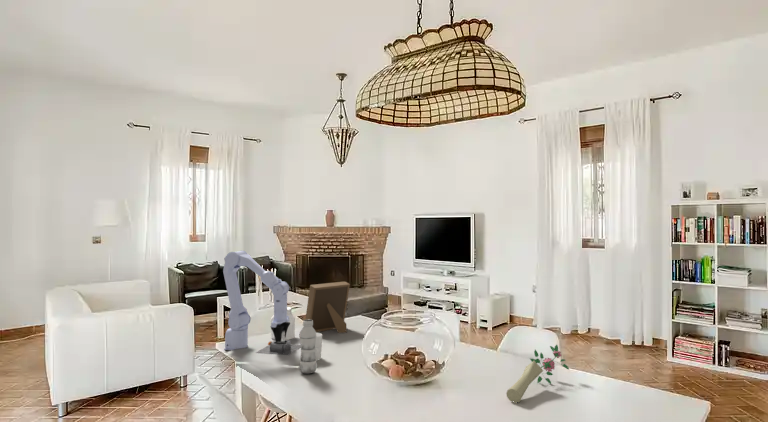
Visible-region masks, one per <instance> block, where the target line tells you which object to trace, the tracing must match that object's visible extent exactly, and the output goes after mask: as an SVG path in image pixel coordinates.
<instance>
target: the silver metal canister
mask: <svg viewBox="0 0 768 422" xmlns="http://www.w3.org/2000/svg"><path fill="white" fill-rule="evenodd" d="M284 343H285V330H283V331H282V337H281V342H276V344H284Z"/></svg>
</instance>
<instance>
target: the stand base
mask: <svg viewBox="0 0 768 422" xmlns="http://www.w3.org/2000/svg"><path fill="white" fill-rule="evenodd" d="M298 350H301V344H292V341H291V340H289V339H288V340H285V343H284V344H276V340H275V339H274V341H269V342H268V343H267V346H265V347H262V348H261V349H260V350H258V351H256V352H255V354H264V355H265V354H266V355H279V356H291V355H293V354H294V353H295V352H297V351H298Z"/></svg>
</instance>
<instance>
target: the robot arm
mask: <svg viewBox="0 0 768 422" xmlns="http://www.w3.org/2000/svg"><path fill="white" fill-rule="evenodd" d="M241 267H247V268H248V269H249V270H251V271H252V272H254V273H255V274H257V276H258V277H260V278H259V279H260V282H262V283H263V284H264V285H265V286H266V287H267V288H269V289H270V290H271V293H272V295H273V315H274V320H273V322H272V323H271V322H270V330H271V329H272V331H273V333H274V336H275V339H274V341H275V340H276V342H281V337H282V331H283V330H285V337H286V333H287V329H288V327H289V325H290V322H289V321H290V320H289V316H287V307H288V292H289V291H290V286H289V283H288V282H287V281H282V279H281V278H279V277H277V276H276V275H275V272H273V271H270V270H265V269H264V268H263V267H262V266H261V265H260V264H259V263H257V261H256V260H255V259H254V258H252V256H251V255H250V254H249V253H248V252H247V251H245V250H238V251H230V252H228V253H227V254H226V255H225V257H224V264H223V269H222V272H223V277H224V282H225V288H226V291H227V296H228V301H229V306H230V311H228V312H229V313H228V322H227V323H228V327H229V328H227V329H226V331H225V334H224V348H223V350H225V351H226V350H227V351H233V350H235V349H246V348H248V346H249V345H248V344H249V341H248V340H249V339H248V338H249V335H248V334H249V324H250V323H251V319H252V318H251V316H250V314H249V313H248V309H247V308H246V307H245V306H244V303H243V299H242V293H241V290H240V289H241V288H240V284H239V280H238V274H237V272H238V270H239V269H240V268H241Z"/></svg>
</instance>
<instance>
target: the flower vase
mask: <svg viewBox="0 0 768 422" xmlns="http://www.w3.org/2000/svg"><path fill="white" fill-rule="evenodd" d="M549 348H550V349H551V351H552V354H553V356H554V358H549V357H545V359H544V354H543V353H542V352H540V354H539V353H538V351H537V350H536V349H534V351H533V352H534V356H535V358H536V359H534V358H529V360H530V361H531V362H530V363H529V364H527V365H526V366H525V367H524V368H525V369H524V370H523V372H522V375H521V376H520V378H519V379H518V380H517V381H516V382H515V383H514V384H513V385H512V386H511V387H509V388H508V389H507V391H506V393H505V394H506V398H507V399H508V400H509V401H510V402H511V401H514V402H518V403H520V402H521V400H522V399H523V397H524V395H525V393H526V391H527V389H528V388H529V385H531V383H533V381H534V380H536V379H537V384H538V383H541V382H542V380H543V378H542V376H543V373H544V370H545V371H546V373H544V374H546V376H547V375H548V376H553V375H554V374H553V372H552V371H553V370H555V367H556V366H555V364H556V363H557V364H559V365H562V367H563V368H565V369H566V370H570V369H569V366H568V365H567V364H565V363H563V364H562V363H561V362H566V359H563V358H562V359H560V358H561V357H562V352H561V350H559V346H558V344H555V346H554V347H553V346H552V345H549ZM538 357H539V358H538ZM556 358H557V359H560V361H555V359H556ZM543 359H544V360H543ZM542 360H543V361H542ZM541 362H542V364H541ZM555 362H556V363H555ZM542 368H543V369H542ZM540 374H541V376H540ZM543 377H544V380H545V381H546V382H547V383H548V384H550V385H552V380H551V379H550V378H549V377H547V378H546V377H545V376H543Z"/></svg>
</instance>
